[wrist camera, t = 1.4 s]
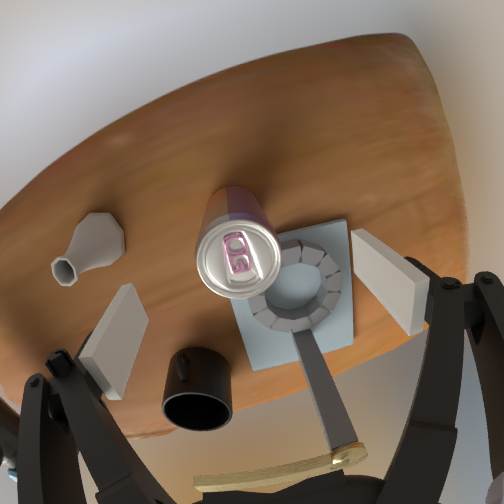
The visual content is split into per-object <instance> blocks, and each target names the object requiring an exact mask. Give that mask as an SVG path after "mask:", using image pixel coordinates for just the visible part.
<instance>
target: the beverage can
mask: <svg viewBox="0 0 504 504" xmlns="http://www.w3.org/2000/svg"><path fill="white" fill-rule="evenodd" d="M281 254H282V251H281V244H280V240H279V238H278V236H277V234H276V232H275V230H274V228H273V227H272V225H271V223H270V222H269V220H268V218H267V216H266V215H265V213H264V211H263V210H262V208H261V206H260V204H259V203H258V201H257V199H256V198H255V196H254V195H253V194H252V193H251V192H250V191H248V190H247V189H245V188H243V187H240V186H227V187H224V188H221V189H219V190H218V191H216V192H215V193H214V194H213V195H212V196H211V198H210V200H209V202H208V204H207V208H206V211H205V214H204V218H203V221H202V225H201V228H200V232H199V236H198V239H197V243H196V247H195V261H196V265H197V269H198V272H199V275H200V277H201V279H202V280H203V282H204V283H205V284H206V285H207V287H209V288H210V289H211V290H212V291H214V292H215V293H217V294H219V295H221V296H224V297H227V298H232V299H244V298H249V297H253V296H255V295H258V294H260V293H261V292H263V291H265V290H266V289H267V288H268V287H269V286H270V285H271V284H272V283H273V282H274V281H275V279H276V277H277V276H278V274H279V271H280V268H281V262H282V255H281Z"/></svg>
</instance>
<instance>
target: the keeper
mask: <svg viewBox="0 0 504 504" xmlns="http://www.w3.org/2000/svg"><path fill="white" fill-rule="evenodd" d="M367 455H368V453H367V451H366V448H365V446H364V444H363V443H362V442H353V443H349V444H346V445H343V446H341V447H338V448H336V449H335V450H333V451H332V452H331V453H330V454H326V455H322V456H319V457H315V458H311V459H308V460H303V461H299V462H295V463H291V464H286V465H281V466H277V467H271V468H265V469H260V470H253V471H246V472H239V473H230V474H220V475H207V476H194V478H193V480H194V481H193V487H195V488H196V489H197V490H198V491H200V492H211V491H225V490H236V489H245V488H252V487H259V486H266V485H272V484H277V483H282V482H287V481H292V480H297V479H301V478H305V477H309V476H313V475H317V474H321V473H324V472H328V471H331V470H340V469H347V468H349V467H352V466H355V465H356V464H358V463H360V462H361V461H363V460H364V459H365V458H366V457H367Z"/></svg>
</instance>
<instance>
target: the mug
mask: <svg viewBox="0 0 504 504" xmlns="http://www.w3.org/2000/svg"><path fill="white" fill-rule="evenodd" d="M162 412H163V414H164V416H165V417H166V418H167V419H168V420H169V421H170V422H171V423H173V424H174V425H176V426H178V427H181V428H184V429H187V430H192V431H211V430H216V429H219V428H221V427H223V426H224V425H226V424H227V423H228V422H229V421H230V420H231V418H232V413H233V411H232V394H231V376H230V367H229V364H228V362H227V361H226V360H225V359H224V357H222V356H221V355H220V354H218V353H217V352H215V351H212V350H210V349H206V348H188V349H184V350H182V351H179V352H178V353H177V354H176V355H175V356H173V358H172V359H171V361H170V364H169V369H168V374H167V380H166V385H165V391H164V396H163V402H162Z"/></svg>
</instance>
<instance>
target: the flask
mask: <svg viewBox="0 0 504 504" xmlns="http://www.w3.org/2000/svg"><path fill="white" fill-rule="evenodd" d="M124 254H125V242H124V231H123V229H122V228H121V227H120V226H119V224H118V223H117V222H116V220H115V219H114V218H113V216H112V215H111V213H110V212H108V213H89V214H88V215H87V216H86V217H85V218H84V219H83V220H82V221H81V222H80V223H79V224H78V225H77V226H76V228H75V231H74V234H73V237H72V240H71V242H70V245H69V248H68V250H67V251H66V253H65V254H64V256H58V257H57V258H56V259H55V260H54V261H53V262H52V263H51V268H52V272H53V276H54V277H55V279H56V280H57V281H58V282H59V284H60V285H62V286H72V285H73V284H74V283H75V282H76V281H77V280H78V279H79V274H81V273H82V272H84V271H86V270H90V269H94V268H98V267H104V266H109V265H112V264H113V263H114V262H115V261H116V260H118V259H119V258H120V257H121V256H122V255H124Z"/></svg>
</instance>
